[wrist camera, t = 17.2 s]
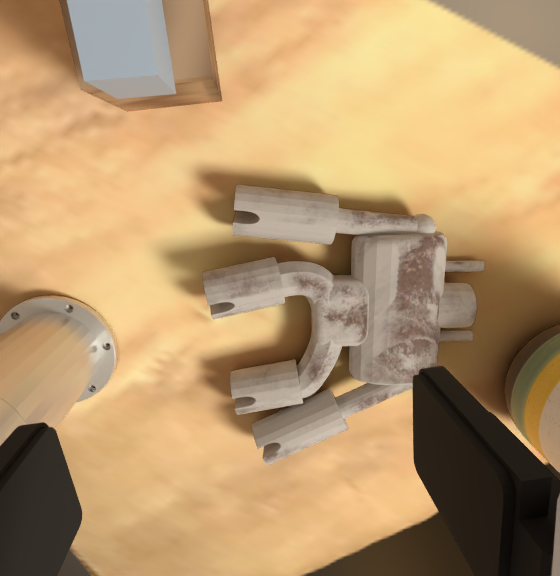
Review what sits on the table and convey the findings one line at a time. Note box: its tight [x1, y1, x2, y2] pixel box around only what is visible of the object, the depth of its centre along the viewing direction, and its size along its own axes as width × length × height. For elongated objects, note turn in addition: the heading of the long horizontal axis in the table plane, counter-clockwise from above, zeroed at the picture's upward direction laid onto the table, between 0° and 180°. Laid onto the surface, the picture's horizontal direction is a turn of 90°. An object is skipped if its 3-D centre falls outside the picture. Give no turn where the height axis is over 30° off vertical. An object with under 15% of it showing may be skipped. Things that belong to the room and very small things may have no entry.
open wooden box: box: [60, 0, 222, 111], centre depth 31 cm, size 9×12×11 cm
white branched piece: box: [203, 185, 485, 465], centre depth 43 cm, size 31×7×30 cm
